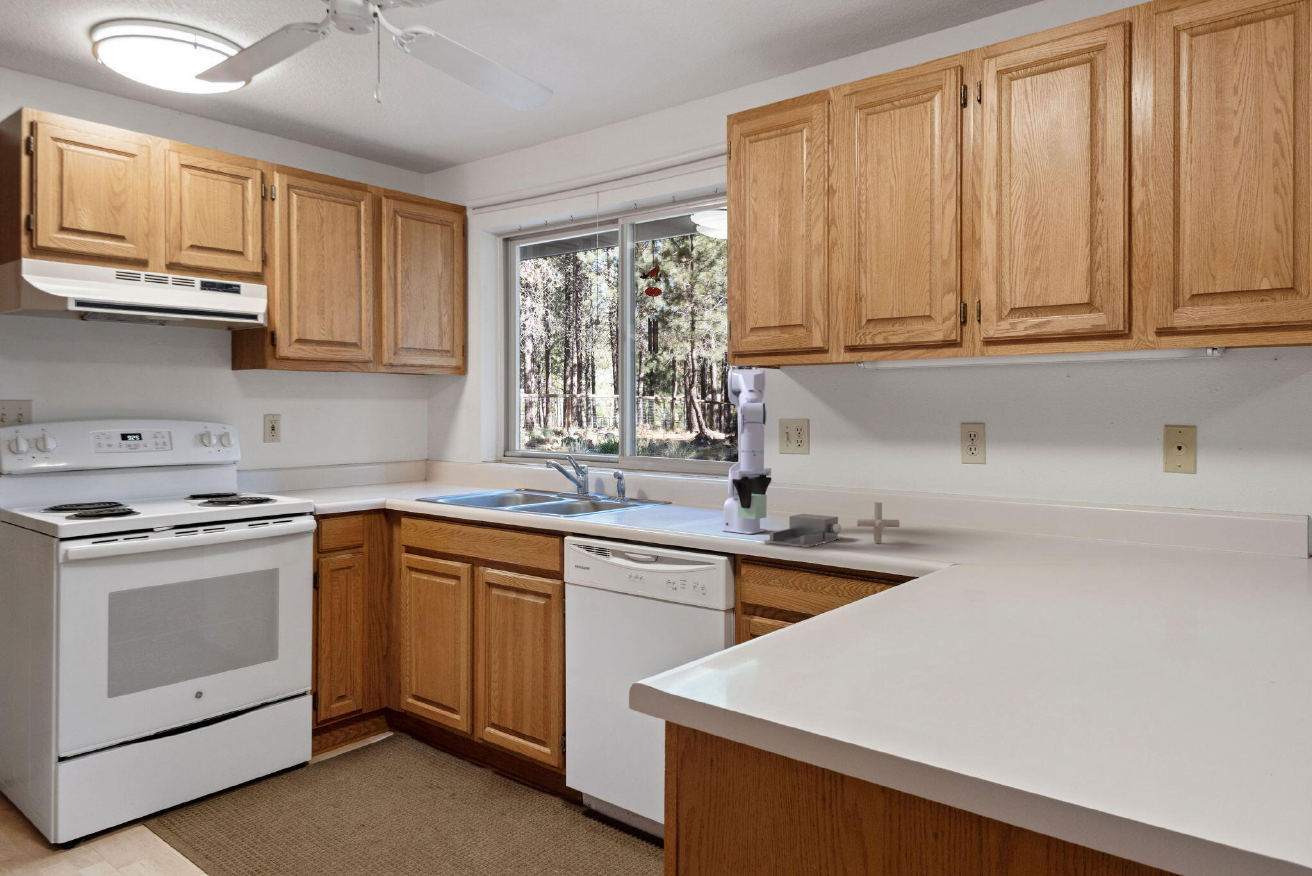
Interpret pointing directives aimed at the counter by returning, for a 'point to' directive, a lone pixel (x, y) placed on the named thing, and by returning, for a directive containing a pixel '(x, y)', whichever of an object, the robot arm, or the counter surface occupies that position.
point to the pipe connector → (877, 522)
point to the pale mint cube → (754, 507)
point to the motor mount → (807, 531)
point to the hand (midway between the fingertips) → (751, 507)
